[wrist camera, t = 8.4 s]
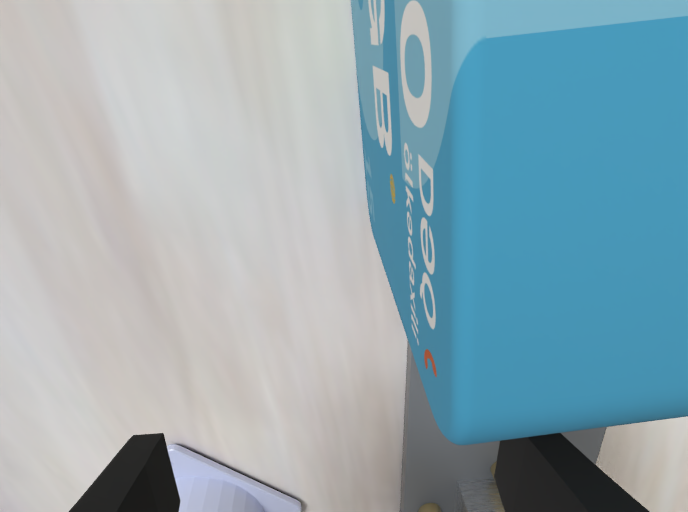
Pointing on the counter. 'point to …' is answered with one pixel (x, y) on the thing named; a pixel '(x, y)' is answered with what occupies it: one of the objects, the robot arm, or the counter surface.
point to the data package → (532, 205)
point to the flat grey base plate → (451, 453)
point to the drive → (478, 496)
